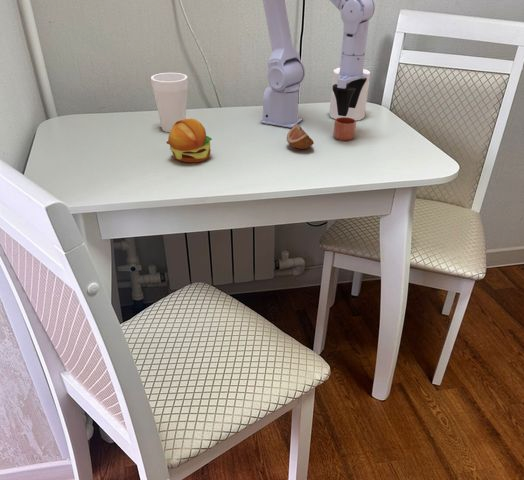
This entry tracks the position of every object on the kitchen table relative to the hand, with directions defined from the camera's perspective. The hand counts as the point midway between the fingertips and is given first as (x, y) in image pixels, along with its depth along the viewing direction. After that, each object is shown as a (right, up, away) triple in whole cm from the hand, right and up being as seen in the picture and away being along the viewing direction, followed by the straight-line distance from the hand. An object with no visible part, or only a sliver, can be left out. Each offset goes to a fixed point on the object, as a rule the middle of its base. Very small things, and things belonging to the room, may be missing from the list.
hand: (346, 111), depth 142 cm
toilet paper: (+3, +7, +19) cm, 20 cm away
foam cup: (-46, -2, +8) cm, 47 cm away
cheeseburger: (-39, -15, -8) cm, 43 cm away
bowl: (0, -5, +4) cm, 7 cm away
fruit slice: (-12, -11, -2) cm, 17 cm away
